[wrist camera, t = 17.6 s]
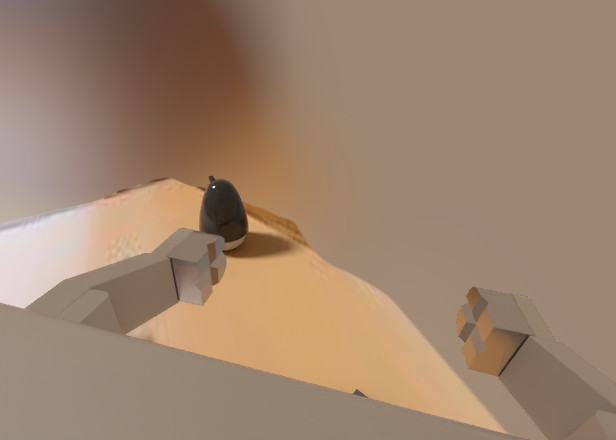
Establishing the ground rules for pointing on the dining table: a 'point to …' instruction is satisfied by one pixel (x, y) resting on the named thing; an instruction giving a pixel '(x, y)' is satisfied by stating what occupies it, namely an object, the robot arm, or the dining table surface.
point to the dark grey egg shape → (223, 213)
